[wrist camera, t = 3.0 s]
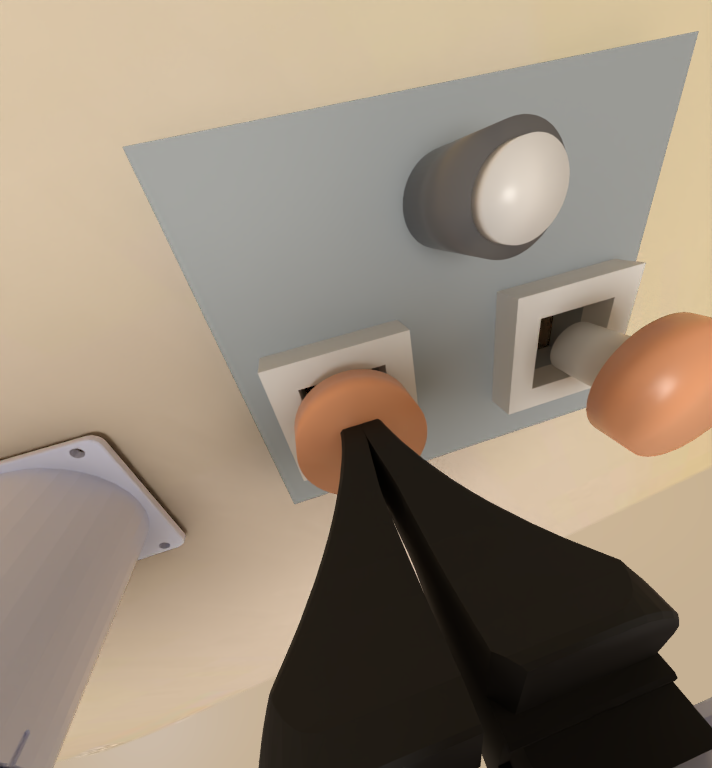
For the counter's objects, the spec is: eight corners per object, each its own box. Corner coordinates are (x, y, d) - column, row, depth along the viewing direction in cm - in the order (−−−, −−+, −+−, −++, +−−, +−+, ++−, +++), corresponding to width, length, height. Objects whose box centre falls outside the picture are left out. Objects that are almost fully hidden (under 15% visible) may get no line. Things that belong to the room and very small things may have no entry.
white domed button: (407, 257, 11) (467, 275, 8) (397, 156, 9) (466, 122, 6) (482, 238, 11) (572, 246, 8) (484, 137, 10) (598, 93, 6)
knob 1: (307, 436, 15) (317, 510, 11) (276, 355, 13) (276, 414, 9) (393, 410, 15) (431, 471, 12) (379, 326, 13) (421, 370, 9)
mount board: (293, 481, 17) (295, 526, 14) (144, 157, 9) (96, 135, 7) (573, 390, 19) (618, 416, 16) (646, 54, 11) (753, 7, 9)
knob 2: (520, 404, 14) (610, 472, 10) (531, 308, 12) (653, 352, 8) (606, 376, 14) (724, 432, 11) (633, 279, 12) (797, 306, 8)
